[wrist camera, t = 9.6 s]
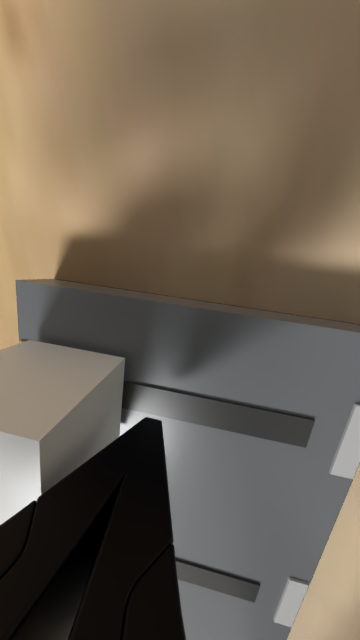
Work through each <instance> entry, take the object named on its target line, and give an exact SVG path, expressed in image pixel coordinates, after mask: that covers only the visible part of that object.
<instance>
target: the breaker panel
mask: <svg viewBox="0 0 360 640" xmlns="http://www.w3.org/2000/svg"><path fill="white" fill-rule="evenodd" d="M16 294H17V312H18V330H19V344H20V343H23V342H25V341H28V340H33V341H38V342H44V343H49V344H54V345H60V346H65V347H70V348H76V349H81V350H86V351H92V352H97V353H102V354H108V355H113V356H118V357H124V358H125V367H124V381H123V395H122V408H121V422H120V435H119V436H121V435H122V434H123V433H125V432H126V431H127V430H129V429H130V428H131V427H133V426H134V425H135V424H137V423H138V422H139V421H141V420H142V419H143V418H145V417H149V418H153V419H157V420H161V421H162V427H163V437H164V448H165V458H166V468H167V478H168V489H169V499H170V509H171V519H172V530H173V540H174V542H173V545H174V548H175V559H176V569H177V577H178V585H179V594H180V602H181V610H182V617H183V623H184V629H185V635H186V640H287V637H288V635H289V633H290V630H291V628H292V625H293V623H294V621H295V618H296V616H297V613H298V611H299V609H300V606H301V604H302V601H303V599H304V597H305V594H306V592H307V589H308V587H309V584H310V582H311V580H312V577H313V575H314V572H315V570H316V568H317V565H318V563H319V560H320V558H321V556H322V553H323V551H324V548H325V546H326V544H327V541H328V539H329V536H330V534H331V531H332V529H333V527H334V524H335V522H336V519H337V517H338V515H339V512H340V510H341V507H342V505H343V503H344V500H345V498H346V495H347V493H348V491H349V488H350V486H351V483H352V481H353V478H354V476H355V474H356V471H357V469H358V466H359V464H360V325H358V324H351V323H345V322H338V321H331V320H325V319H318V318H311V317H304V316H298V315H291V314H284V313H278V312H271V311H264V310H258V309H251V308H244V307H237V306H231V305H224V304H217V303H211V302H204V301H197V300H190V299H184V298H177V297H170V296H164V295H157V294H150V293H143V292H137V291H130V290H123V289H117V288H110V287H103V286H96V285H90V284H83V283H76V282H70V281H63V280H56V279H38V280H16Z"/></svg>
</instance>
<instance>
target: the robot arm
mask: <svg viewBox="0 0 360 640" xmlns="http://www.w3.org/2000/svg"><path fill="white" fill-rule="evenodd" d="M173 542H174V540H173V530H172V519H171V509H170V499H169V489H168V478H167V468H166V458H165V448H164V437H163V427H162V421H161V420H157V419H153V418H149V417H145V418H143V419H142V420H141V421H139V422H138V423H137V424H135V425H134V426H133V427H131V428H130V429H129V430H127V431H126V432H125V433H123V434H122V435H121V436H119V437H118V438H117V439H115V440H114V441H113V442H111V443H110V444H109V445H107V446H106V447H105V448H103V449H102V450H101V451H99V452H98V453H97V454H95V455H94V456H93V457H91V458H90V459H89V460H87V461H86V462H85V463H83V464H82V465H81V466H79V467H78V468H77V469H75V470H74V471H73V472H71V473H70V474H69V475H67V476H66V477H65V478H63V479H62V480H61V481H59V482H58V483H57V484H55V485H54V486H53V487H51V488H50V489H49V490H47V491H46V492H45V493H43V494H42V495H40V496H39V497H38V498H37V502H36V501H35V500H34V501H32V502H31V503H30V504H28V505H27V506H26V507H24V508H23V509H22V510H20V511H19V512H18V513H16V514H15V515H13V516H12V517H11V518H9V519H8V520H7V521H5V522H4V523H2V524H1V525H0V640H186V635H185V629H184V623H183V617H182V610H181V602H180V594H179V585H178V577H177V569H176V559H175V548H174V545H173Z"/></svg>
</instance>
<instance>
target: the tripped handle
mask: <svg viewBox="0 0 360 640" xmlns="http://www.w3.org/2000/svg"><path fill="white" fill-rule="evenodd" d="M124 367H125V358H124V357H118V356H113V355H108V354H102V353H97V352H92V351H86V350H81V349H76V348H70V347H65V346H60V345H54V344H49V343H44V342H38V341H33V340H28V341H25V342H23V343H20V344H17V345H14V346H11V347H9V348H6V349H3V350H0V525H1V524H2V523H4V522H5V521H7V520H8V519H9V518H11V517H12V516H13V515H15V514H16V513H18V512H19V511H20V510H22V509H23V508H24V507H26V506H27V505H28V504H30V503H31V502H32V501H34V500H35V501H36V502H37V498H38V497H39V496H40V495H42V494H43V493H45V492H46V491H47V490H49V489H50V488H51V487H53V486H54V485H55V484H57V483H58V482H59V481H61V480H62V479H63V478H65V477H66V476H67V475H69V474H70V473H71V472H73V471H74V470H75V469H77V468H78V467H79V466H81V465H82V464H83V463H85V462H86V461H87V460H89V459H90V458H91V457H93V456H94V455H95V454H97V453H98V452H99V451H101V450H102V449H103V448H105V447H106V446H107V445H109V444H110V443H111V442H113V441H114V440H115V439H117V438H118V437H119V435H120V422H121V408H122V395H123V381H124Z"/></svg>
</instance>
